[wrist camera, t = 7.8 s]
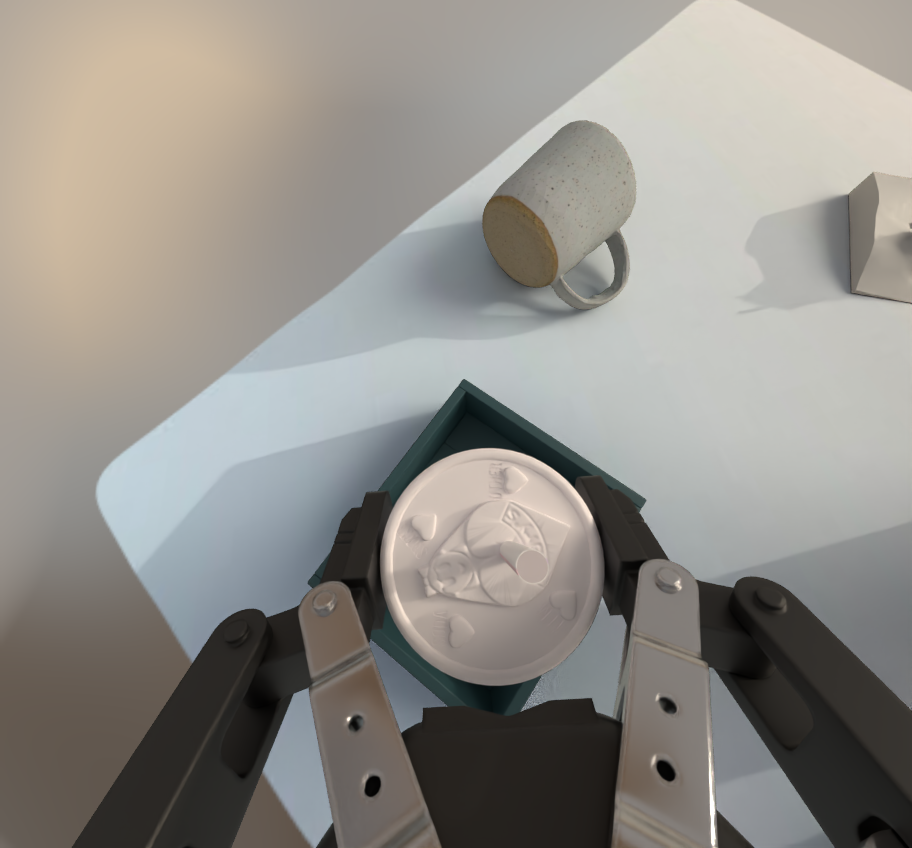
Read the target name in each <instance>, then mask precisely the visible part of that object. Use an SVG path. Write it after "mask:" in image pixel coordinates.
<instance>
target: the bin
mask: <svg viewBox="0 0 912 848" xmlns="http://www.w3.org/2000/svg"><path fill="white" fill-rule="evenodd" d="M481 448H496V449H505V450H511V451H515V452H519V453H523V454H525V455H528V456H530V457H533V458H535V459H537V460H539V461H541V462H543V463H544V464H546V465H548V466H549V467H551V468H552V469H554V470H555V471H556V472H558V473H559V474H560V475H561V476H562V477H563V478H565V479H566V480H567V481H568V482H569V483H570V484H571V485H572V487H573V488H574V489H575V484H576V478H577V477H582V476H595V475H600V476H601V477H602V478H603V480H604V482H605V483H606V485H607V487H608V489H609V490H611V489H619V490H620V491H621V492H622V493H624V494H625V495H626V496H628V497H629V498H630V499H631V500H632V502H633V503H634V505H635V507H636V508H637V510H638V513H639V512H640V510H641V508H642V507H643V505H644V504H645V502H646V499H645V498H643V497H642V496H640V495H639V494H637V493H636V492H634V491H633V490H631V489H630V488H628V487H627V486H625V485H624V484H622V483H621V482H619V481H618V480H616V479H615V478H613V477H611V476H610V475H608V474H607V473H605V472H604V471H602V470H601V469H599V468H598V467H596V466H595V465H593V464H592V463H590V462H589V461H587V460H586V459H584V458H583V457H581V456H580V455H578V454H577V453H575V452H574V451H572V450H571V449H569V448H568V447H566V446H565V445H563V444H562V443H560V442H559V441H557V440H556V439H554V438H553V437H551V436H550V435H548V434H547V433H545V432H544V431H542V430H541V429H539V428H538V427H536V426H535V425H533V424H532V423H530V422H528V421H527V420H525V419H524V418H522V417H521V416H519V415H518V414H516V413H515V412H513V411H512V410H510V409H509V408H507V407H506V406H504V405H503V404H501V403H500V402H498V401H497V400H495V399H494V398H492V397H491V396H489V395H488V394H486V393H485V392H483V391H482V390H480V389H479V388H477V387H476V386H474V385H473V384H471V383H470V382H468V381H467V380H465V379H463V380H462V382H461V383H460V384H459V386H458V387H457V388H456V389H455V391H454V392H453V393H452V395H451V396H450V397H449V399H448V400H447V401H446V402H445V404H444V405H443V406H442V408H441V409H440V410H439V412H438V413H437V414H436V415H435V417H434V418H433V419H432V421H431V422H430V423H429V425H428V426H427V427H426V429H425V430H424V431H423V432H422V434H421V435H420V436H419V438H418V439H417V440H416V442H415V443H414V444H413V445H412V447H411V448H410V449H409V451H408V452H407V453H406V455H405V456H404V457H403V459H402V460H401V461H400V462H399V464H398V465H397V466H396V468H395V469H394V470H393V472H392V473H391V474H390V475H389V477H388V478H387V479H386V481H385V482H384V483H383V485H382V486H381V487H380V488H379V490H378V491H389V493H390V497H391V501H392V506H393V508H394V506H395V504H396V502H397V500H398V499H399V497H400V496H401V494H402V493H403V492H404V490H405V489H406V488H407V487H408V485H409V484H410V483H411V482H412V481H413V480H414V479H415V478H416V477H417V476H418V475H419V474H421V473H422V472H423V471H424V470H425V469H427V468H428V467H430V466H431V465H433V464H434V463H436V462H438V461H440V460H442V459H443V458H446V457H448V456H451V455H453V454H456V453H459V452H463V451H467V450H472V449H481ZM330 553H331V552H330ZM329 556H330V554H329V555H328V556H327V558H326V559H325V560H324V561H323V563H322V564H321V565H320V567H319V568H318V569H317V571H316V572H315V574H314V575H313V576H312V577H311V578H310V580H309V581H308V584H309V585H310V586H311V587H312V588H314V587H316V586H318V585H319V584H320V581H321V579H322V576H323V573H324V570H325V567H326V564H327V561H328V558H329ZM370 639H372V640H373V641H374V642H375V643H376V644H377V645H378V646H380V647H381V648H382V649H383V650H384V651H385V652H386V653H388V654H389V655H390V656H391V657H392V658H393V659H395V660H396V661H397V662H398V663H399V664H400V665H401V666H403V667H404V668H405V669H406V670H407V671H408V672H409V673H411V674H412V675H413V676H414V677H415V678H416V679H417V680H419V681H420V682H421V683H422V684H423V685H424V686H425V687H427V688H428V689H429V690H430V691H431V692H432V693H433V694H435V695H436V696H437V697H438V698H439V699H440V700H442V701H443V702H444V703H445V704H446V705H447V706H448V707H449V706H468V707H472V708H476V709H480V710H484V711H488V712H492V713H496V714H500V715H504V716H510V715H514V714H516V713H519V712H520V711H521V710H522V708H523V706H524V705H525V703H526V701H527V700H528V698H529V696H530V695H531V693H532V691H533V689H534V688H535V686H536V684H537V683H538V681H539V679H540V678H541V676H542V675H541V676H538V677H536V678H534V679H531V680H528V681H525V682H521V683H517V684H512V685H502V686H488V685H480V684H474V683H470V682H466V681H463V680H460V679H457V678H454V677H452V676H450V675H448V674H446V673H444V672H442V671H440V670H439V669H437V668H435V667H434V666H432V665H431V664H430V663H428V662H427V661H426V660H425V659H423V658H422V657H421V656H420V655H419V654H418V653H417V652H416V651H415V650H414V649H413V648H412V647H411V646H410V644H409V643H408V642H407V641H406V640H405V638H404V637H403V635H402V634H401V632H400V631H399V629H398V627H397V626H396V624H395V622H394V620H393V618H392V616H391V614H390V611H389V609H388V606H387V604H386V610H385V617H384V623H383V629H378V630H372V631H371V637H370Z"/></svg>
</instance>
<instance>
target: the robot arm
mask: <svg viewBox="0 0 912 848" xmlns="http://www.w3.org/2000/svg"><path fill="white" fill-rule="evenodd" d="M575 490H576V491H577V492H578V494H579V495H580V496H581V498H582V499H583V501H584V502H585V504H586V505H587V507H588V509H589V511H590V513H591V515H592V517H593V519H594V521H595V524H596V526H597V529H598V532H599V536H600V539H601V543H602V548H603V555H604V586H603V592H602V596H603V599H604V601H605V604H606V606H607V609H608V611H609V614H610V615H623V617H624V619H625V622H626V624H627V626H626V630H625V636H624V643H623V651H622V658H621V666H620V673H619V681H618V688H617V695H616V701H615V706H614V711H613V717H609V716H606V715H604V714H601V713H597V712H596V711H595V708H594V704H593V701H592V698H585V699H568V700H551V701H547V702H545V703H542V704H540V705H537V706H535V707H532V708H529V709H527V710H524V711H522V712H519V713H516V714H514V715H510V716H504V715H500V714H496V713H492V712H488V711H484V710H480V709H476V708H472V707H468V706H449V707H431V708H423V718H422V722H421V723H418V724H415V725H414V726H412V727H410V728H408V729H406V730H405V731H404V732H402V733H401V732H400V730H399V727H398V724H397V721H396V718H395V716H394V713H393V710H392V707H391V704H390V702H389V699H388V696H387V693H386V690H385V688H384V685H383V682H382V679H381V676H380V673H379V671H378V668H377V665H376V662H375V659H374V657H373V654H372V651H371V649H370V646H369V642H370V637H371V631H372V630H378V629H383V623H384V617H385V610H386V604H387V603H386V600H385V597H384V592H383V588H382V582H381V574H380V552H381V545H382V539H383V535H384V530H385V527H386V524H387V521H388V519H389V516H390V514H391V512H392V509H393V506H392V501H391V497H390V493H389V491H375V492H367V493H366V494H365V497H364V501H363V504H362V507H360V508H352V509H351V510H350V511H349V512H348V513H347V514H346V516H345V517H344V518H343V519H342V521H341V524H340V527H339V530H338V534H337V536H336V538H335V541H334V544H333V547H332V550H331V553H330V556H329V558H328V561H327V564H326V567H325V570H324V573H323V576H322V579H321V581H320V584H319V585H318V586H316V587H314V588H313V589H311V590H310V591H309V592H308V593H307V594H306V595H305V596H304V598H303V599H302V601H301V603H300V605H298V606H297V607H295V608H292V609H290V610H287V611H284V612H281V613H279V614H276V615H273V616H270V617H267V618H266V616H265V615H264V613H263V612H262V611H260V610H257V609H245V610H242V611H239V612H236V613H234V614H233V615H231V616H229V617H228V618H226V619H225V620H224V621H223V622H222V623H220V624H219V625H218V627H217V628H216V629H215V630H214V632H213V633H212V634H211V636H210V637H209V639H208V641H207V642H206V644H205V645H204V647H203V648H202V650H201V651H200V653H199V654H198V656H197V657H196V659H195V660H194V662H193V663H192V665H191V666H190V668H189V670H188V671H187V673H186V674H185V676H184V677H183V679H182V680H181V682H180V683H179V685H178V687H177V688H176V689H175V691H174V693H173V694H172V696H171V697H170V699H169V700H168V702H167V703H166V705H165V706H164V708H163V709H162V711H161V712H160V714H159V715H158V717H157V718H156V720H155V721H154V723H153V724H152V726H151V727H150V729H149V731H148V732H147V734H146V735H145V737H144V738H143V740H142V741H141V743H140V744H139V746H138V747H137V749H136V750H135V752H134V753H133V755H132V756H131V758H130V760H129V761H128V763H127V764H126V766H125V767H124V769H123V770H122V772H121V773H120V775H119V776H118V778H117V779H116V781H115V782H114V784H113V785H112V787H111V788H110V790H109V792H108V793H107V795H106V796H105V798H104V799H103V801H102V802H101V804H100V805H99V807H98V808H97V810H96V811H95V813H94V814H93V816H92V817H91V819H90V821H89V822H88V824H87V825H86V827H85V828H84V830H83V831H82V833H81V834H80V836H79V837H78V839H77V840H76V842H75V844H74V845H73V846H72V848H231V847H232V844H233V842H234V839H235V837H236V835H237V832H238V830H239V827H240V825H241V822H242V820H243V817H244V815H245V812H246V810H247V807H248V805H249V803H250V800H251V797H252V795H253V792H254V790H255V788H256V785H257V783H258V780H259V778H260V775H261V773H262V771H263V768H264V766H265V763H266V761H267V758H268V756H269V753H270V751H271V748H272V746H273V743H274V741H275V739H276V736H277V734H278V731H279V729H280V726H281V724H282V721H283V719H284V716H285V714H286V712H287V709H288V707H289V704H290V702H291V699H292V697H293V694H294V693H296V692H299V691H301V690H303V689H306V688H308V687H309V696H310V701H311V707H312V712H313V717H314V723H315V728H316V733H317V739H318V744H319V749H320V755H321V760H322V765H323V771H324V776H325V781H326V787H327V792H328V797H329V803H330V808H331V813H332V819H333V823H332V825H331V826H330V827H329V829H328V830H327V832H326V833H325V835H324V836H323V838H322V839H321V841H320V842H319V844H318V845H317V847H316V848H754V847H753V846H752V845H751V844H750V843H749V842H748V841H747V840H746V839H745V838H744V837H743V836H742V835H741V834H740V833H739V832H738V831H737V830H736V829H735V828H734V827H733V826H732V825H731V824H730V823H729V822H728V821H727V820H726V819H725V818H724V817H723V816H722V815H721V814H720V813H719V812H718V811H717V810H716V796H715V777H714V757H713V738H712V718H711V699H710V679H709V668H708V667H711V668H714V669H715V671H716V672H717V674H718V675H719V677H720V678H721V680H722V681H723V683H724V684H725V685H726V687H727V688H728V690H729V691H730V693H731V694H732V696H733V697H734V699H735V700H736V702H737V703H738V705H739V706H740V708H741V709H742V711H743V712H744V714H745V715H746V717H747V718H748V720H749V721H750V723H751V724H752V725H753V727H754V728H755V730H756V731H757V733H758V734H759V736H760V737H761V739H762V740H763V742H764V743H765V745H766V746H767V748H768V749H769V751H770V752H771V754H772V755H773V757H774V758H775V760H776V761H777V763H778V764H779V765H780V767H781V768H782V770H783V771H784V773H785V774H786V776H787V777H788V779H789V780H790V782H791V783H792V785H793V786H794V788H795V789H796V791H797V792H798V794H799V795H800V797H801V798H802V800H803V801H804V803H805V804H806V805H807V807H808V808H809V810H810V811H811V813H812V814H813V816H814V817H815V819H816V820H817V822H818V823H819V825H820V826H821V828H822V829H823V831H824V832H825V834H826V835H827V837H828V838H829V840H830V841H831V843H832V844H833V845H834V847H835V848H912V711H911V710H910V709H909V708H908V707H907V706H906V705H905V704H904V703H903V702H902V701H901V700H900V699H899V698H898V697H897V696H896V695H895V694H894V693H893V692H892V691H891V690H890V689H889V688H888V687H887V686H886V685H885V684H884V683H883V682H882V681H881V680H880V679H879V678H878V677H877V676H876V675H875V674H874V673H873V672H872V671H871V670H870V669H869V668H868V667H867V666H866V665H865V664H864V663H863V662H862V661H861V660H860V659H859V658H858V657H857V656H856V655H855V654H853V653H852V652H851V651H850V650H849V649H848V648H847V647H846V646H845V645H844V644H843V643H842V642H841V641H840V640H839V639H838V638H837V637H836V636H835V635H834V634H833V633H832V632H831V631H830V630H829V629H828V628H827V627H826V626H825V625H824V624H823V623H822V622H821V621H820V620H819V619H818V618H817V617H816V616H815V615H814V614H813V613H812V612H811V611H810V610H809V609H808V608H807V607H806V606H805V605H804V604H803V603H802V602H801V601H800V600H799V599H798V598H797V597H796V596H794V595H793V594H792V593H791V592H790V591H788V590H787V589H786V588H784V587H782V586H781V585H779V584H777V583H775V582H773V581H770V580H767V579H764V578H760V577H744V578H741V579H739V580H738V581H737V582H736V584H735V586H734V588H731V587H726V586H721V585H716V584H711V583H706V582H702V581H699V580H696V579H695V578H694V577H693V576H692V574H691V573H690V572H689V571H687V570H686V569H685V568H684V567H682V566H680V565H679V564H676V563H674V562H672V561H670V560H669V559H668V557H667V556H666V554H665V553H664V551H663V549H662V548H661V546H660V545H659V543H658V541H657V540H656V538H655V537H654V535H653V533H652V532H651V530H650V529H649V527H648V526H647V524H646V523H645V522H644V519H643V518H642V516H641V514H640V513H638V510H637V508H636V507H635V505H634V503H633V502H632V500H631V499H630V498H629V497H628V496H626V495H625V494H624V493H622V492H621V491H620V490H619V489H611V490H609V489H608V487H607V485H606V483H605V482H604V480H603V478H602V477H601V476H600V475H595V476H582V477H577V478H576V484H575Z"/></svg>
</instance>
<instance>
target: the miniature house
mask: <svg viewBox="0 0 912 848" xmlns="http://www.w3.org/2000/svg"><path fill="white" fill-rule="evenodd" d="M849 220H850V259H851V293H856V294H862V295H868V296H874V297H880V298H886V299H892V300H897V301H903V302H909V303H912V178H906V177H900V176H894V175H888V174H883V173H878V172H873V173H872V174H870V175H869V176H868V177H867V178H866V179H865V180H864V181H863V182H861V183H860V184H859V185H858V186H857V187H856V188H855V189H854V190H852V191H851V192H850V193H849Z"/></svg>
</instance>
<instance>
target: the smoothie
mask: <svg viewBox="0 0 912 848" xmlns="http://www.w3.org/2000/svg"><path fill="white" fill-rule="evenodd" d="M380 574H381V582H382V588H383V592H384V597H385V600H386V603H387V606H388V609H389V611H390V614H391V616H392V618H393V620H394V622H395V624H396V626H397V627H398V629H399V631H400V632H401V634H402V635H403V637H404V638H405V640H406V641H407V642H408V643H409V644H410V646H411V647H412V648H413V649H414V650H415V651H416V652H417V653H418V654H419V655H420V656H421V657H422V658H423V659H425V660H426V661H427V662H428V663H430V664H431V665H432V666H434V667H435V668H437V669H439V670H440V671H442V672H444V673H446V674H448V675H450V676H452V677H454V678H457V679H460V680H463V681H466V682H470V683H474V684H480V685H488V686H502V685H512V684H517V683H521V682H525V681H528V680H531V679H534V678H536V677H538V676H541V675H543V674H545V673H547V672H548V671H550V670H551V669H553V668H555V667H556V666H558V665H559V664H560V663H561V662H563V661H564V660H565V659H566V658H567V657H568V656H569V655H570V654H571V653H572V652H573V651H574V650H575V649H576V648H577V647H578V645H579V644H580V643H581V642H582V640H583V639H584V637H585V636H586V634H587V633H588V631H589V629H590V627H591V625H592V623H593V621H594V619H595V616H596V614H597V611H598V608H599V605H600V601H601V598H602V592H603V586H604V555H603V548H602V543H601V539H600V536H599V532H598V529H597V526H596V524H595V521H594V519H593V517H592V515H591V513H590V511H589V509H588V507H587V505H586V504H585V502H584V501H583V499H582V498H581V496H580V495H579V494H578V492H577V491H576V490H575V489H574V488H573V487H572V485H571V484H570V483H569V482H568V481H567V480H566V479H565V478H563V477H562V476H561V475H560V474H559V473H558V472H556V471H555V470H554V469H552V468H551V467H549V466H548V465H546V464H544V463H543V462H541V461H539V460H537V459H535V458H533V457H530V456H528V455H525V454H523V453H519V452H515V451H511V450H505V449H496V448H481V449H472V450H467V451H463V452H459V453H456V454H453V455H451V456H448V457H446V458H443V459H442V460H440V461H438V462H436V463H434V464H433V465H431V466H430V467H428V468H427V469H425V470H424V471H423V472H422V473H421V474H419V475H418V476H417V477H416V478H415V479H414V480H413V481H412V482H411V483H410V484H409V485H408V487H407V488H406V489H405V490H404V492H403V493H402V494H401V496H400V497H399V499H398V500H397V502H396V504H395V506H394V508H393V509H392V512H391V514H390V516H389V519H388V521H387V524H386V527H385V530H384V535H383V539H382V545H381V552H380Z"/></svg>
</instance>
